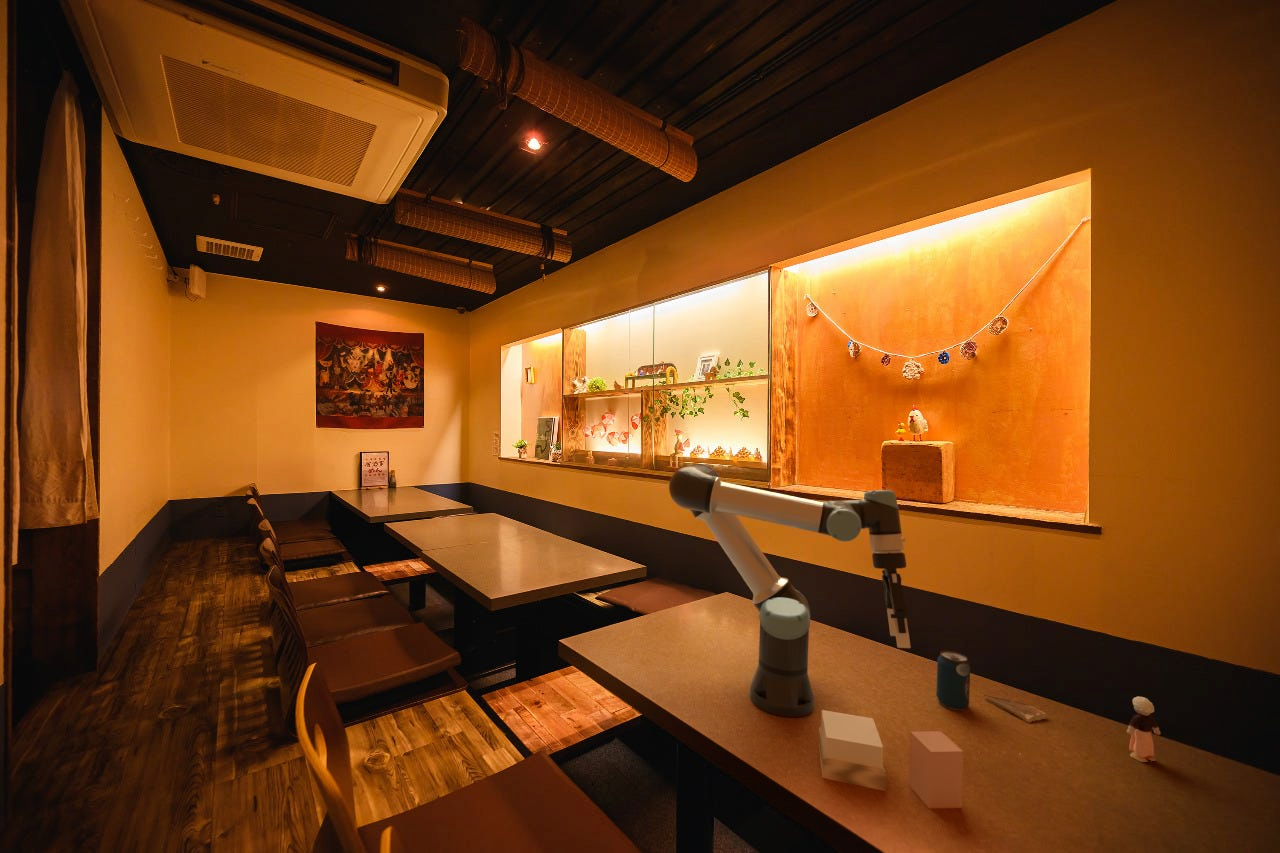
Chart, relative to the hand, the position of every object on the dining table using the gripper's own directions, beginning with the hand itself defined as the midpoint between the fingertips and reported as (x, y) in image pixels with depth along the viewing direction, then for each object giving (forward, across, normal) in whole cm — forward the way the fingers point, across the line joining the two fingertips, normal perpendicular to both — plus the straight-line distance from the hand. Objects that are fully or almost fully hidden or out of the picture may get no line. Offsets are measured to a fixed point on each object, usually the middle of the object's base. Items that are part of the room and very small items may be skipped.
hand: (900, 641), depth 123 cm
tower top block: (+15, -26, +14) cm, 34 cm away
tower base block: (+19, -26, +15) cm, 35 cm away
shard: (+18, +12, -24) cm, 33 cm away
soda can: (+16, +10, -11) cm, 22 cm away
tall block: (+21, -29, +1) cm, 35 cm away
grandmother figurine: (+22, +2, -43) cm, 49 cm away
